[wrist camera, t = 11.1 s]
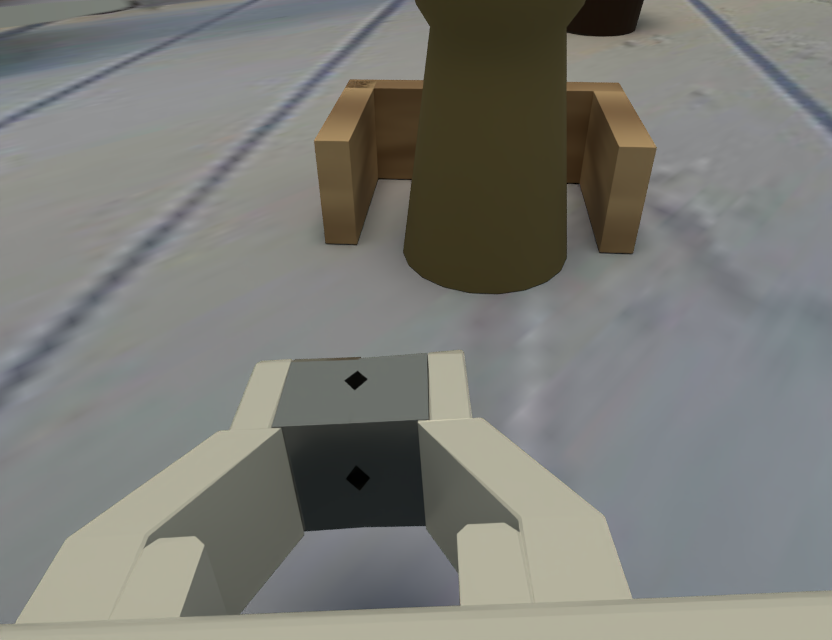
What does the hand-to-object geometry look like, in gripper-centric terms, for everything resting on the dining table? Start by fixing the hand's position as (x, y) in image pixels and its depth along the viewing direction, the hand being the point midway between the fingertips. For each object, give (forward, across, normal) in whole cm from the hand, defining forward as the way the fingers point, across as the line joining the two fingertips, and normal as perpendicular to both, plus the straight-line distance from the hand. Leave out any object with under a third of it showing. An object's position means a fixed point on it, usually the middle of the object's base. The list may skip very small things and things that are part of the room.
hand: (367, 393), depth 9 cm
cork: (+14, -3, +4) cm, 15 cm away
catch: (+18, -3, +4) cm, 18 cm away
